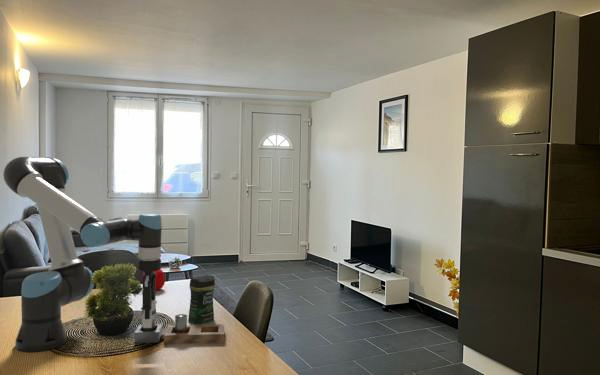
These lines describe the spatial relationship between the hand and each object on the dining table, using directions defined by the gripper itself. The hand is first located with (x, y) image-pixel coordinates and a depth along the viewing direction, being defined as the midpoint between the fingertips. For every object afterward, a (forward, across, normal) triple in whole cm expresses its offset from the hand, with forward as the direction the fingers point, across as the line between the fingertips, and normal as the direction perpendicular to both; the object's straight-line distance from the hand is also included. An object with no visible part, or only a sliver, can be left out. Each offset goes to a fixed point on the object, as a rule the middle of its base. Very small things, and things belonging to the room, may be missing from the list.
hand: (148, 324), depth 165 cm
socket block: (+6, 0, 0) cm, 6 cm away
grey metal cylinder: (+5, 0, 0) cm, 5 cm away
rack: (+6, -1, -16) cm, 17 cm away
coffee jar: (+6, +18, -17) cm, 25 cm away
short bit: (+5, -1, -11) cm, 12 cm away
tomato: (+6, +68, +9) cm, 69 cm away
